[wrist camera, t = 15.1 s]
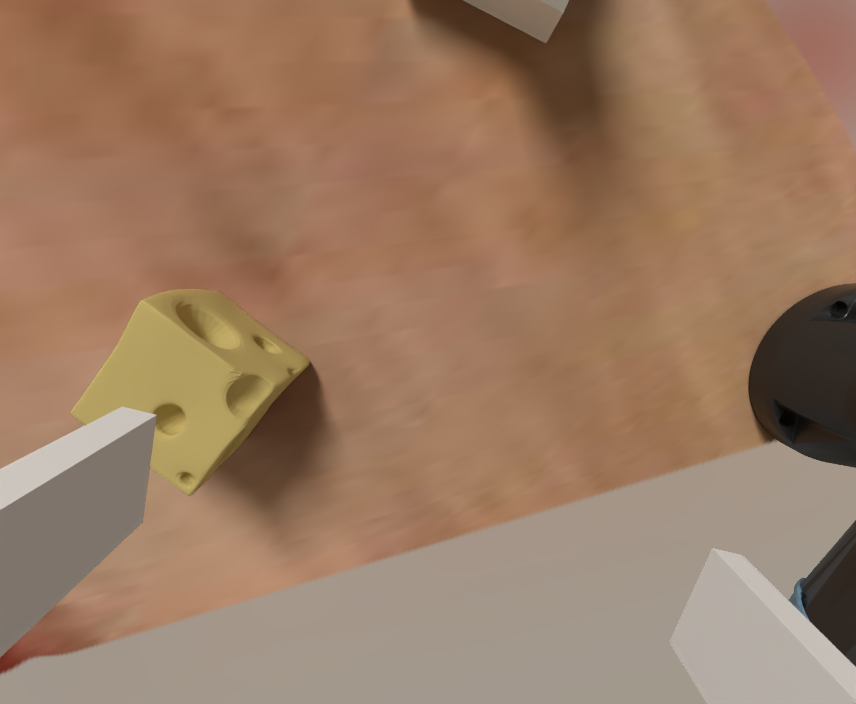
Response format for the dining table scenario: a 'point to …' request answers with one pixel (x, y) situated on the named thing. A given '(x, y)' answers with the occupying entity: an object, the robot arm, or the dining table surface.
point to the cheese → (193, 380)
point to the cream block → (526, 14)
